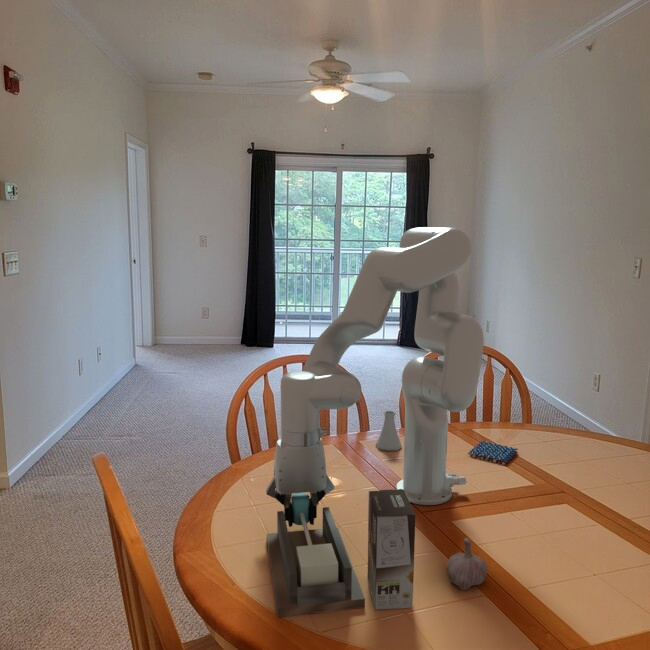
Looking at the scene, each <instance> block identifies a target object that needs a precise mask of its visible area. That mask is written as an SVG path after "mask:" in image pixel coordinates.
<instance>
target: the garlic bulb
mask: <svg viewBox="0 0 650 650" xmlns="http://www.w3.org/2000/svg"><path fill="white" fill-rule="evenodd" d="M463 542H464V552H456V553H454V554H452V555H451V556H450V557H449V559H448V560H447V561H448V562H447V564H446V572H447V574H448V578H449V580H450V582H451V583H453V584H454V585H456V586H457V587H458V588H459V589H460V590H463V591H465V590H466V591H467V590H468V589H470V588H471V586H478V585H480V584H482V583H483V582H484V581H485V580H486V578H487V577H486V576H487V574H488V565H487V562H486V561H485V559H483V558H482V557H480V556H478V555H476V554H475V553H473V552H472V546H471V545H472V543H471V539H470V538H468V537H465V538H464V539H463Z"/></svg>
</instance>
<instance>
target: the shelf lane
mask: <svg viewBox="0 0 650 650" xmlns="http://www.w3.org/2000/svg"><path fill="white" fill-rule="evenodd" d="M332 514H333V513H332V512H331V510H330V507H329V506H326V507H325V506H324V507H322V528H316V529H308V531H309V534H310V538H311V541H312V545H319V544H329V543H331V544H332V547H333V550H334V553H335V556H336V559H337V562H338V583H331V584H322V585H313V586H304V587H299V583H298V579H297V572H296V547H298V546H308V544H307V540H306V536H305V533H304V529H303V530H294V531H289V529H288V526H287V525H288V524H287V521H286V520H285V515H284V510H278V511H277V513H276V517H277V518H276V519H277V520H276V521H277V522H276V523H277V524H276V525H277V528H276V529H277V532H272V533H266V546H267V553H268V558H269V559H268V560H269V565H270V573H271V574H270V575H271V580H272V587H273V595H274V601H275V603H274V604H275V610H276V616H277V618H284V617H294V616H302V615H311V614H317V613H327V612H337V611H345V610H352V609H360V608H365V607H366V598H365V595H364V592H363V590H362V587H361V585H360V583H359V580H358V577H357V575H356V572H355V569H354V566H353V563H352V560H351V558H350V556H349V553H348V550H347V547H346V545H345V543H344V540H343V537H342V535H341V533H340V529H339V528H338V526H336V525H337V524H336V523H335V520H334V517H333V515H332Z"/></svg>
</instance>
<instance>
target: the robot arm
mask: <svg viewBox="0 0 650 650" xmlns="http://www.w3.org/2000/svg"><path fill="white" fill-rule="evenodd" d="M471 243H472V242H471V239H470V237H469V236H468V235H467V233H466V232H465V231H463V230H462V229H460V228H457V227H448V226H447V227H445V226H444V227H442V226H441V227H437V226H436V227H435V226H434V227H433V226H432V227H430V226H429V227H428V226H423V227H422V226H421V227H420V226H419V227H414V228H410V229H408V230H406V231H405V232H404V233H403V234H402V235H401V238H400V241H399V247H393V246H391V247H389V246H387V247H385V246H384V247H383V246H382V247H378V248H374V249H373V250H371V251H370V252H369V253H368V254H367V256H366V257H365V259H364V261H363V264H362V266H361V268H360V270H359V273H358V275H357V277H356V280H355V282H354V285H353V287H352V290H351V291H350V294H349V296H348V298H347V300H346V303H345V305H344V308H343V310H342V312H341V314H339V316H338V317H336V319H334V320H333V321H332V322H331V323H330V324H329V325H328V326H327V328H326V329H325V330H323V332H322V333H321V334H320V335H319V337H317V339H316V341H315V343H314V344H313V346H312V349H311V350H310V352H309V355H308V357H307V360H306V361H305V365H304V367H303V371H300V370H299V371H296V370H295V371H291V372H287V373H285V374H284V375H282V377H281V378H280V439H278V440H277V441H276V445H275V451H274V462H273V463H274V464H273V477H272V479H271V480H270V482H269V483H268V486H267V487H266V489H265V493H266V495H267V496H269V497H271V498H273V499H275V500H276V501H278V503H280V504H281V505H282V506H283V507H284V508H283V509H284V510H283V511H284V515H285V520H286V522H287V523H288V524H287V525H288V527H289V528H291V527H293V526H294V525H293V524H294V523H293V509H292V505H291V497H292V495H293V494H296V493H309V522H308V523H309V524H310V525H311V526H314V524H315V519H317V518H318V517H317V516H318V514H317V512H318V507H317V506H318V505H319V503H320V501H322V500H323V499H324V497H325V496H326V495H328V494H329V493H330V492H332V491H334V489H335V485H334V483H333V482H332V480H331V479H330V477H329V476H328V474H327V465H326V464H327V463H326V456H325V455H326V453H325V448H324V447H325V446H324V442H323V439H322V437H323V436H326V435H327V434H328V431H327V427H321V425H320V411H321V410H344V409H348V408H350V407H352V406H354V405H356V403H357V402H358V401H359V399H360V398H361V396H362V385H361V382H360V380H359V379H358V378H357V376H355V375H354V374H353V373H351V372H349V371H346V370H344V369H342V368H340V367H338V366H339V364H340V361H341V359H342V358H343V355H344V354H345V352H346V351H347V350H349V348H350V347H352V345H353V344H355V343H356V342H358V341H361V340H362V339H365V338H367V337H370V336H371V335H374V334H376V333H379V331H380V330H381V329H382V328H383V325H384V324H385V323H384V322H385V321H386V318H387V316H388V313H389V311H390V308H391V307H392V303H393V301H394V299H395V297H396V295H397V292H401V293H414V292H418V300H417V307H416V313H415V314H416V316H415V317H416V318H415V324H414V332H413V333H414V334H413V335H414V341H415V342H414V343H415V344H416V345H417V346H418V348H420V349H422V350H424V351H427V352H430V353H432V354H435V355H440V356H443V360H441V359H437V358H433V357H430V356H418V357H414V358H413V359H411V360H409V361H408V362H407V363H406V365H405V366H404V367H403V371H402V373H401V374H402V375H401V387H402V393H403V400H404V413H405V414H404V447H403V478H402V479H401V480H399V481H398V482H397V483H396V486H395V489H403V490H404V491H405V493H406V496H407V498H408V500H409V502H410V504H411V503H413V504H416V505H421V506H435V505H441V504H444V503H447V502H448V501H450V500H451V498H452V496H453V490H452V488H453V487H454V486H465V485H466V484H467V478H466V477H465V476H464V475H462V476H459V475H458V476H457V474H456V473H455V472H451V473H447V457H448V456H447V455H448V454H447V453H448V435H449V434H448V431H449V417H448V411H449V412H451V413H459V412H463V411H465V410H467V409H468V408H469V407H470V406H471V405H472V404H473V402H474V400H475V398H476V395H477V392H478V386H479V379H480V372H481V367H482V361H483V351H484V343H485V342H484V341H485V340H484V339H485V338H484V332H483V329H482V326H481V324H480V323H479V322H478V321H477V319H475V318H474V317H473V316H471V315H468V314H465V313H460V312H458V308H459V307H458V306H459V304H458V303H459V293H460V286H459V281H458V278H457V274H456V272H457V271H459V270H460V269H462V268H463V266H465V264H467V262H468V260H469V258H470V257H471V252H472V244H471Z"/></svg>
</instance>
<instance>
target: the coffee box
mask: <svg viewBox="0 0 650 650" xmlns="http://www.w3.org/2000/svg"><path fill="white" fill-rule="evenodd" d="M367 511H368V514H367V519H368V520H367V522H368V526H367V529H368V531H367V532H368V533H367V535H368V537H367V542H368V543H367V577H366V578H367V580H368V585H369V589H370V594H371V597H372V602H373V605H374V609H375V610H392V609H393V610H394V609H396V610H397V609H411V608H412V607H413V603H414V602H413V601H414V600H413V599H414V575H415V574H414V571H415V570H414V569H415V548H416V547H415V546H416V544H415V543H416V542H415V541H416V512H415V510H414V508H413V506H412V504H411V502H409V500H408V498H407V496H406V493H405V491H404V490H403V489H396V488H394V489H380V490H370V491H368V510H367Z"/></svg>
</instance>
